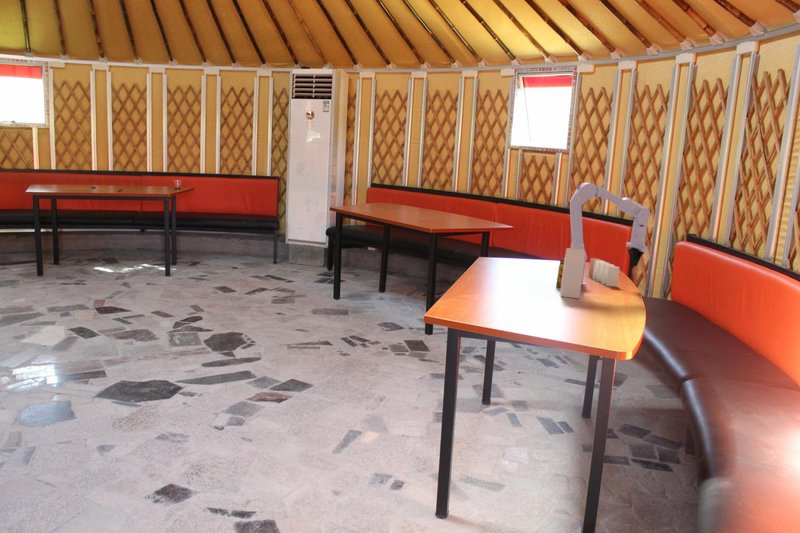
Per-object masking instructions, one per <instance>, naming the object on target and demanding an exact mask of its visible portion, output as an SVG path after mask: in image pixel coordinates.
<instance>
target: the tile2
mask: <svg viewBox="0 0 800 533" xmlns="http://www.w3.org/2000/svg"><path fill="white" fill-rule="evenodd" d="M609 266H611V267H616V266H615V264H610V265H608V264H604V268H603V275H602V282H601V283H602V284H606V283H607V276H608V269H609ZM602 284H601V285H602Z"/></svg>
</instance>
